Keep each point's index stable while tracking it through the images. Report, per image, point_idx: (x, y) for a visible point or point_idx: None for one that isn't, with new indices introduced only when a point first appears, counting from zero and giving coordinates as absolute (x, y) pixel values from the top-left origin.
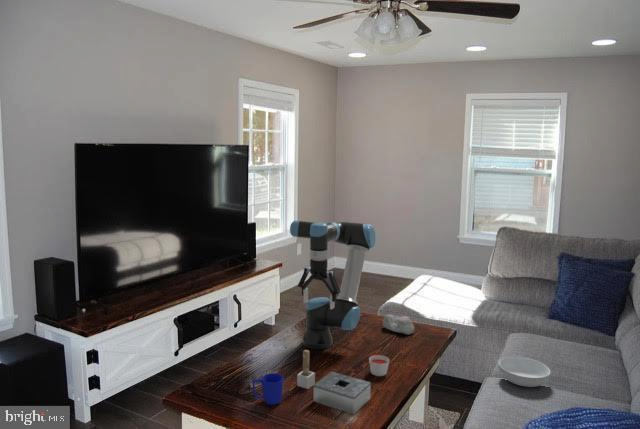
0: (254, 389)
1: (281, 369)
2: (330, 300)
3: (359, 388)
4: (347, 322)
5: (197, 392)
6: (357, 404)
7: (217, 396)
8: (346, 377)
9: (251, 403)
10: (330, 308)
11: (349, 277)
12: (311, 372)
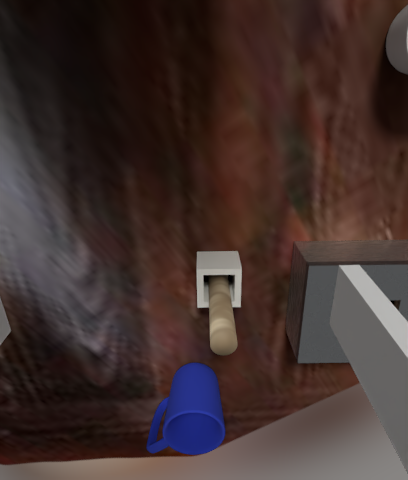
0: (158, 428)
1: (84, 228)
2: (381, 409)
3: None
4: None
5: (19, 426)
6: None
7: (70, 417)
8: (376, 276)
9: (158, 403)
10: (337, 329)
11: None
12: (230, 273)
